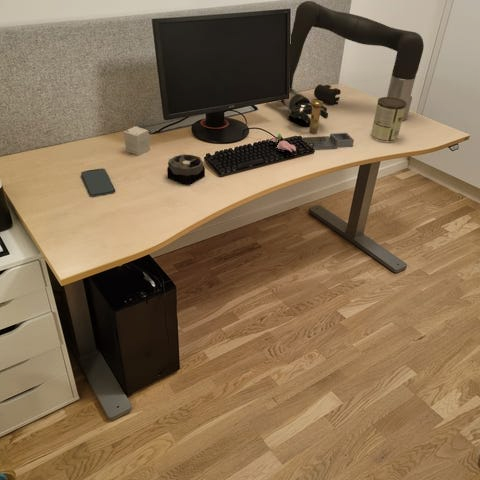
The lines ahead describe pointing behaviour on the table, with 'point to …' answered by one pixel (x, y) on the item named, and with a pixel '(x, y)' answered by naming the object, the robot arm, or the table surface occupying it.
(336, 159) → the table surface
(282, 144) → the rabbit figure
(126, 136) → the skincare box
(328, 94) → the end cap
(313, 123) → the hinge pin
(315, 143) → the grey tray fixture
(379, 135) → the coffee can
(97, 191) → the smartphone
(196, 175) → the cpu cooler
